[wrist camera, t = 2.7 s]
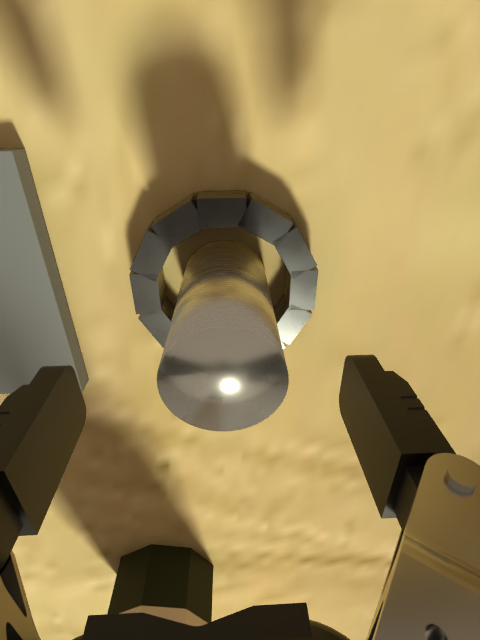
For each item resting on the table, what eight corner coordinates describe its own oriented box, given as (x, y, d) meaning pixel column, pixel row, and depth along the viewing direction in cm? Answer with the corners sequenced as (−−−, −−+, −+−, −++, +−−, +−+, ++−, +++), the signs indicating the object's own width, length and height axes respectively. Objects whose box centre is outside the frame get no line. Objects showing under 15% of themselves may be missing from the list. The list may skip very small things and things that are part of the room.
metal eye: (317, 189, 16) (325, 196, 15) (303, 348, 20) (308, 364, 19) (125, 192, 16) (116, 200, 15) (151, 352, 20) (145, 368, 19)
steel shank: (266, 238, 17) (292, 326, 10) (264, 313, 19) (285, 429, 12) (180, 240, 17) (148, 330, 10) (187, 315, 19) (164, 433, 12)
